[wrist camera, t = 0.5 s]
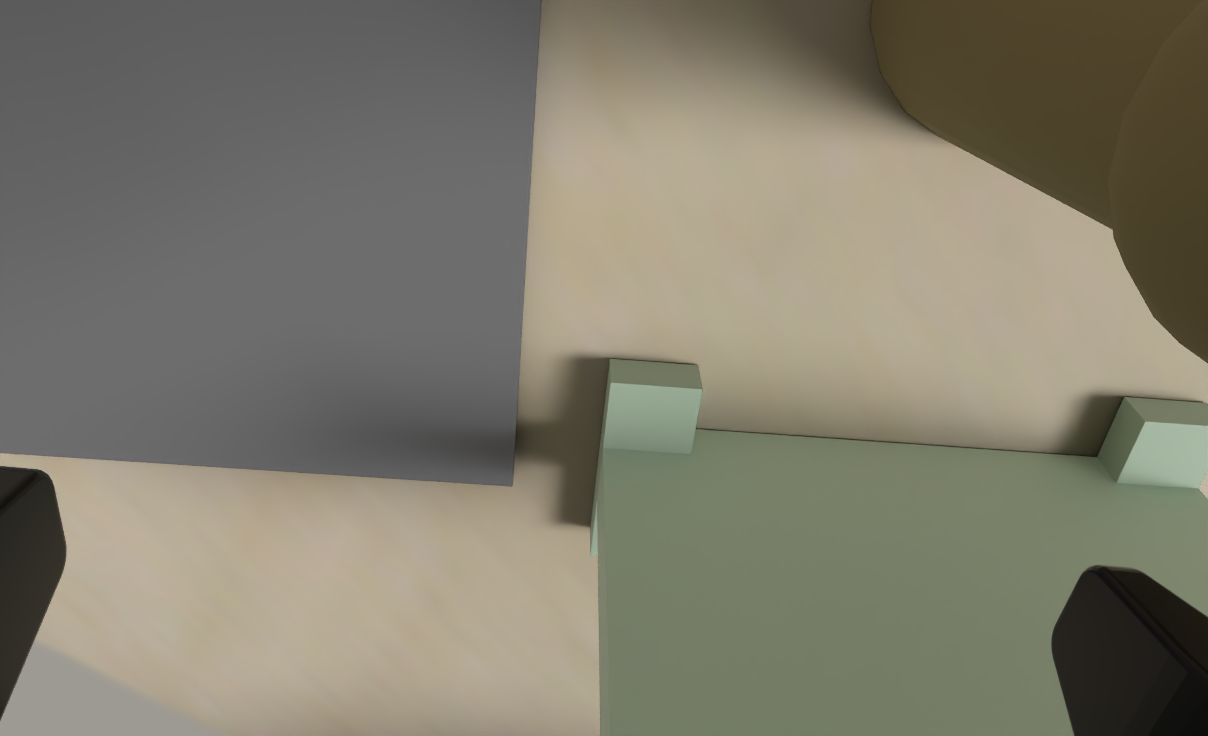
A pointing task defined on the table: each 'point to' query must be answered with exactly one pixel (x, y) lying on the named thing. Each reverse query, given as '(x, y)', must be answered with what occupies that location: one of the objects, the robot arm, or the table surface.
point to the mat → (266, 232)
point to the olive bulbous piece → (1077, 118)
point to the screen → (863, 567)
